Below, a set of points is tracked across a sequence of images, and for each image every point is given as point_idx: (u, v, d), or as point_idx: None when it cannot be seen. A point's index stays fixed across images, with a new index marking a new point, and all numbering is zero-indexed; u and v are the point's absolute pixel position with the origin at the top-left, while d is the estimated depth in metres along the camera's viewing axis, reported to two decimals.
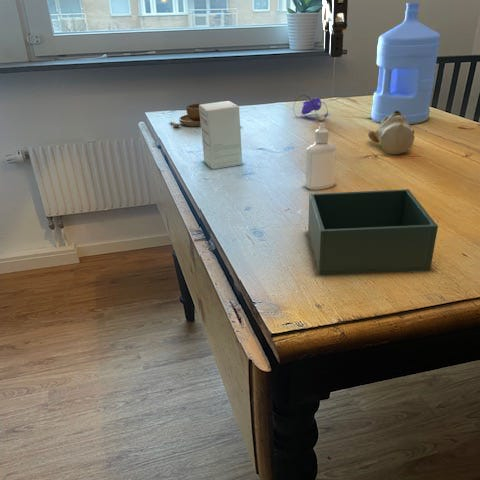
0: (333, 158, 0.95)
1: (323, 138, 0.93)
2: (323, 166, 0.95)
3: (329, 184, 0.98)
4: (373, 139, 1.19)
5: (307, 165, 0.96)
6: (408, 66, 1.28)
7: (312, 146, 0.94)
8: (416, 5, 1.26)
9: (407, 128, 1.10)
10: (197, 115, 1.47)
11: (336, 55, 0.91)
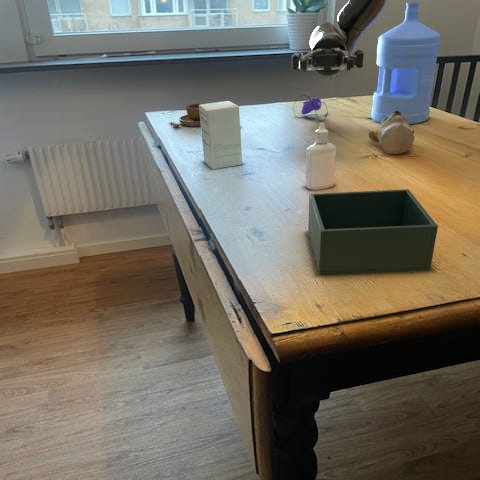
0: (333, 158, 0.95)
1: (323, 138, 0.93)
2: (323, 166, 0.95)
3: (329, 184, 0.98)
4: (373, 139, 1.19)
5: (307, 165, 0.96)
6: (408, 66, 1.28)
7: (312, 146, 0.94)
8: (416, 5, 1.26)
9: (407, 128, 1.10)
10: (197, 115, 1.47)
11: (302, 65, 0.98)
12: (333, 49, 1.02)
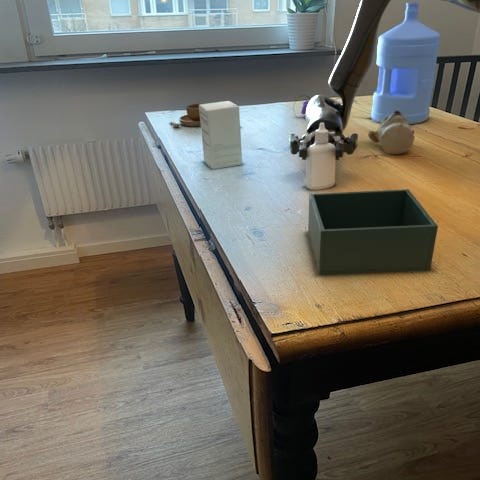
0: (333, 158, 0.95)
1: (323, 138, 0.93)
2: (323, 166, 0.95)
3: (329, 184, 0.98)
4: (373, 139, 1.19)
5: (307, 165, 0.96)
6: (408, 66, 1.28)
7: (312, 146, 0.94)
8: (416, 5, 1.26)
9: (407, 128, 1.10)
10: (197, 115, 1.47)
11: (302, 153, 0.94)
12: None
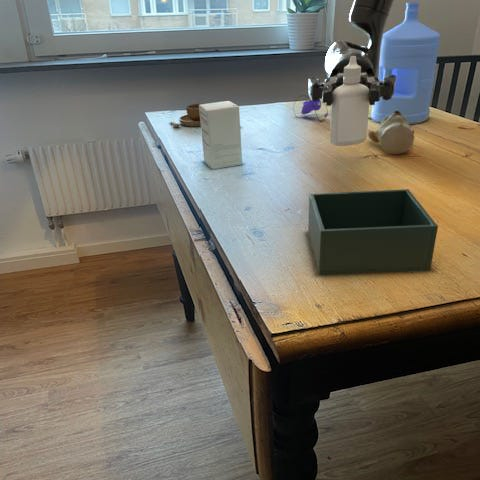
0: (366, 103, 0.74)
1: (354, 77, 0.72)
2: (353, 114, 0.74)
3: (360, 139, 0.77)
4: (373, 139, 1.19)
5: (332, 113, 0.75)
6: (408, 66, 1.28)
7: (340, 88, 0.73)
8: (416, 5, 1.26)
9: (407, 128, 1.10)
10: (197, 115, 1.47)
11: (326, 97, 0.73)
12: None
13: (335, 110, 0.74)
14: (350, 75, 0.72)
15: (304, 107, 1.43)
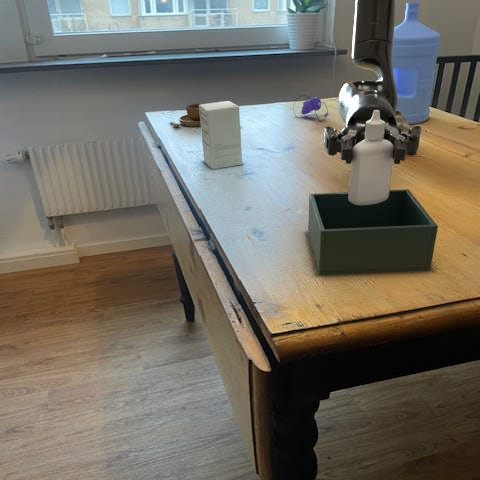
0: (389, 161, 0.67)
1: (377, 133, 0.64)
2: (375, 172, 0.67)
3: (382, 197, 0.69)
4: None
5: (352, 171, 0.67)
6: (408, 66, 1.28)
7: (361, 144, 0.65)
8: (416, 5, 1.26)
9: (407, 128, 1.10)
10: (197, 115, 1.47)
11: (346, 155, 0.66)
12: None
13: (355, 168, 0.67)
14: (373, 131, 0.64)
15: (304, 107, 1.43)
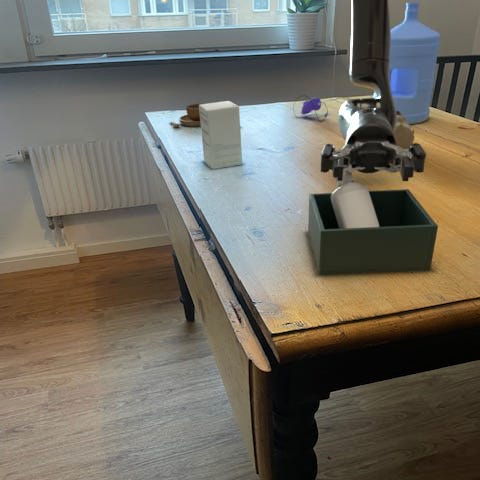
0: (366, 196, 0.74)
1: (346, 176, 0.74)
2: (356, 206, 0.73)
3: None
4: None
5: (336, 213, 0.74)
6: (408, 66, 1.28)
7: (336, 189, 0.74)
8: (416, 5, 1.26)
9: (407, 128, 1.10)
10: (197, 115, 1.47)
11: (337, 172, 0.67)
12: (379, 143, 0.72)
13: (337, 208, 0.74)
14: None
15: (304, 107, 1.43)
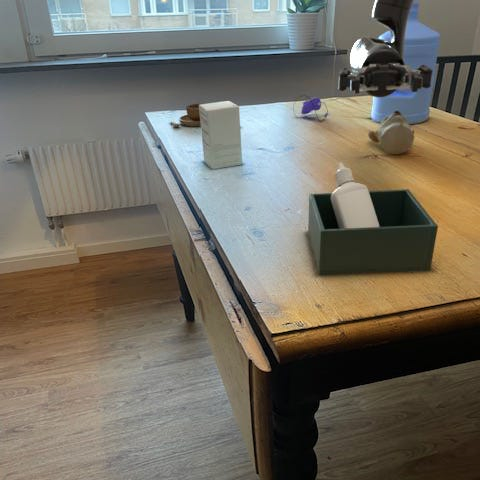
0: (366, 196, 0.74)
1: (346, 176, 0.74)
2: (356, 206, 0.73)
3: None
4: (373, 139, 1.19)
5: (336, 213, 0.74)
6: None
7: (336, 189, 0.74)
8: (416, 5, 1.26)
9: (407, 128, 1.10)
10: (197, 115, 1.47)
11: (354, 85, 0.76)
12: (391, 64, 0.81)
13: (337, 208, 0.74)
14: (341, 176, 0.74)
15: (304, 107, 1.43)
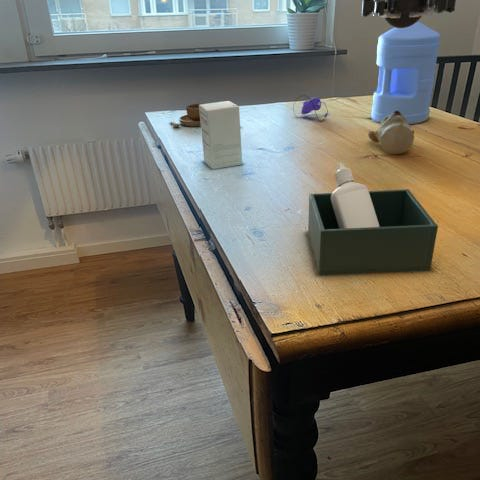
0: (366, 196, 0.74)
1: (346, 176, 0.74)
2: (356, 206, 0.73)
3: None
4: (373, 139, 1.19)
5: (336, 213, 0.74)
6: (408, 66, 1.28)
7: (336, 189, 0.74)
8: None
9: (407, 128, 1.10)
10: (197, 115, 1.47)
11: (379, 7, 0.76)
12: None
13: (337, 208, 0.74)
14: (341, 176, 0.74)
15: (304, 107, 1.43)
